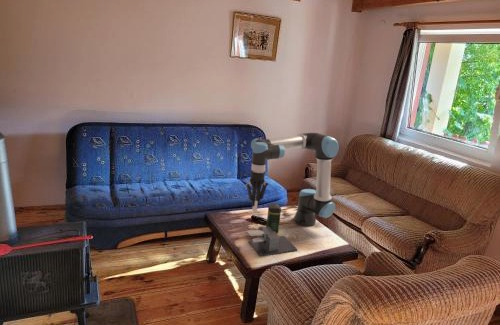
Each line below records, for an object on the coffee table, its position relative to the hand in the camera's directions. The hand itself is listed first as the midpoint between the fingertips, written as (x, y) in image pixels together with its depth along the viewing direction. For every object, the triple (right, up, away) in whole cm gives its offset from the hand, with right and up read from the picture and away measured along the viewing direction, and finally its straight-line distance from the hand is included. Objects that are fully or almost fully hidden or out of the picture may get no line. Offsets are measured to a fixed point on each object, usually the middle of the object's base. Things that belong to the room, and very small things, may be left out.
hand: (254, 210), depth 198 cm
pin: (+6, -21, +10) cm, 24 cm away
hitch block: (+11, -23, +12) cm, 28 cm away
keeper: (+1, -14, +5) cm, 15 cm away
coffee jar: (+12, -18, +30) cm, 37 cm away
